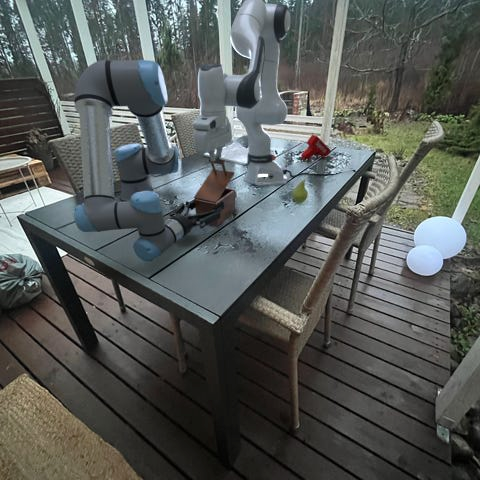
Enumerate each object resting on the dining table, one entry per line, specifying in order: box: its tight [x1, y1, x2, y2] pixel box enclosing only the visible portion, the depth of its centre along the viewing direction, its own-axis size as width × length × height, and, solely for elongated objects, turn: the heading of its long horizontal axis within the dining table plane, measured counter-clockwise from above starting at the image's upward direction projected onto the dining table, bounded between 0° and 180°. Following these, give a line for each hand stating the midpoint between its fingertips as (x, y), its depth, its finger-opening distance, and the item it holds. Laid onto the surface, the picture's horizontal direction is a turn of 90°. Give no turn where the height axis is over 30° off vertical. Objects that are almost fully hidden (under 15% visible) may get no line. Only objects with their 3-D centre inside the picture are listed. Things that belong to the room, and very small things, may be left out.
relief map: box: [203, 141, 249, 166], centre depth 184 cm, size 27×35×5 cm
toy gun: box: [300, 134, 332, 162], centre depth 175 cm, size 18×4×15 cm
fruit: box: [291, 175, 311, 204], centre depth 118 cm, size 7×8×12 cm
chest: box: [193, 187, 236, 227], centre depth 109 cm, size 15×10×9 cm, turn 153°
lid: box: [193, 157, 235, 203], centre depth 101 cm, size 16×10×8 cm, turn 153°
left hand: (211, 202), depth 105 cm, fingers closed on chest, 10 cm apart
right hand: (216, 159), depth 101 cm, fingers closed
